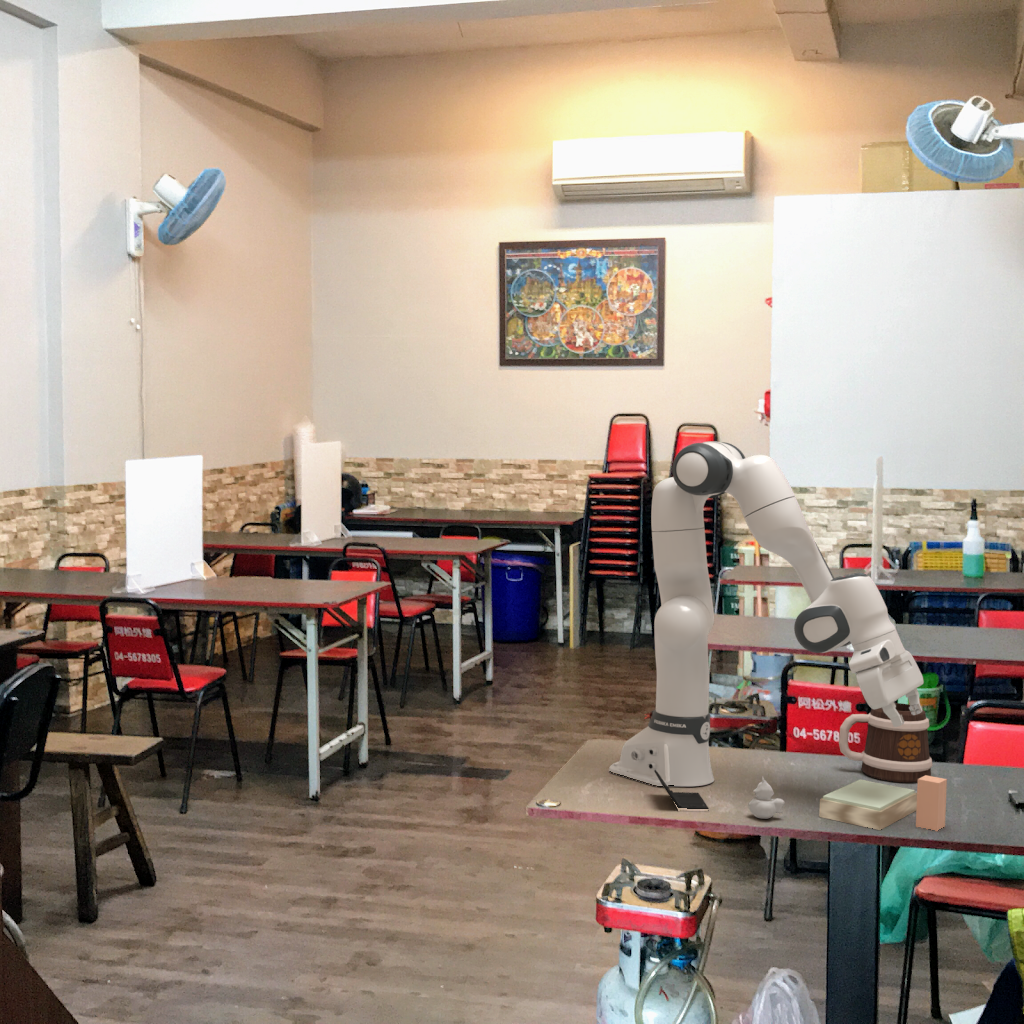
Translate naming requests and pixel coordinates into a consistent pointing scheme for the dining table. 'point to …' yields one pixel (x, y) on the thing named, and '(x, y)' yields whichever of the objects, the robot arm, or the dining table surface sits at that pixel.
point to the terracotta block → (931, 802)
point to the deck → (868, 804)
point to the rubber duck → (765, 802)
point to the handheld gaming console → (684, 797)
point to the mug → (891, 745)
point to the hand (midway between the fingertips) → (908, 719)
